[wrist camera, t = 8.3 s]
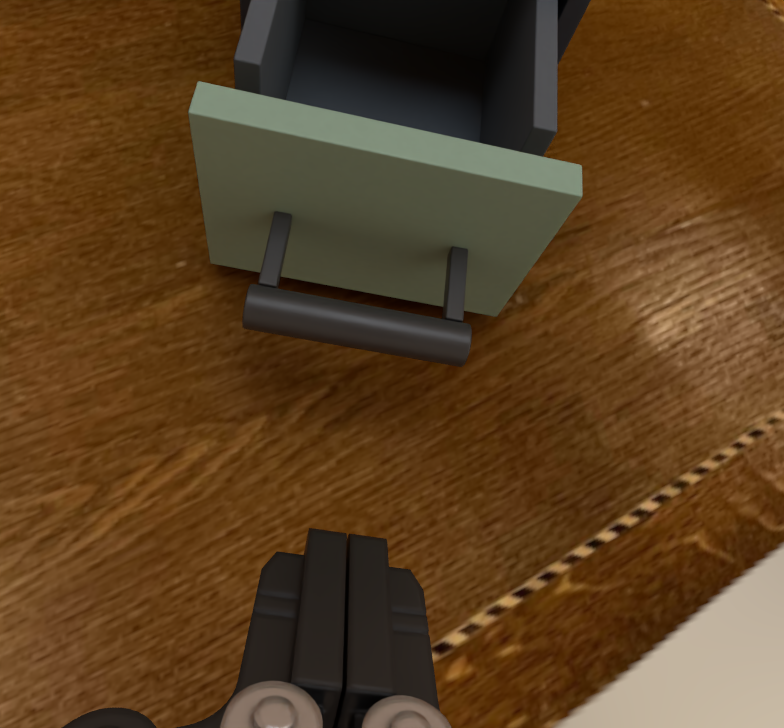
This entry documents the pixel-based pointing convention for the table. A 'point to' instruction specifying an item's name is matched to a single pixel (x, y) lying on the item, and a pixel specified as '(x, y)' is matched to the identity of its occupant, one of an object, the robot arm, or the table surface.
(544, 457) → the table surface
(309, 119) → the drawer
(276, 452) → the table surface
